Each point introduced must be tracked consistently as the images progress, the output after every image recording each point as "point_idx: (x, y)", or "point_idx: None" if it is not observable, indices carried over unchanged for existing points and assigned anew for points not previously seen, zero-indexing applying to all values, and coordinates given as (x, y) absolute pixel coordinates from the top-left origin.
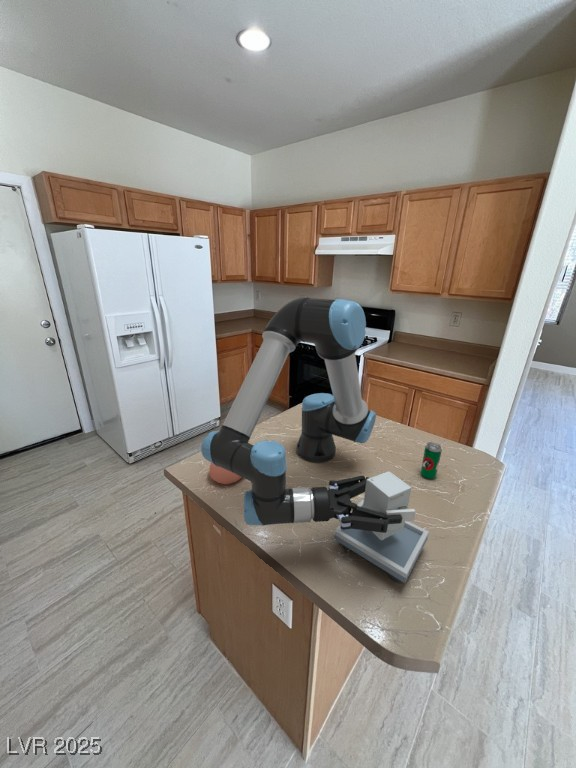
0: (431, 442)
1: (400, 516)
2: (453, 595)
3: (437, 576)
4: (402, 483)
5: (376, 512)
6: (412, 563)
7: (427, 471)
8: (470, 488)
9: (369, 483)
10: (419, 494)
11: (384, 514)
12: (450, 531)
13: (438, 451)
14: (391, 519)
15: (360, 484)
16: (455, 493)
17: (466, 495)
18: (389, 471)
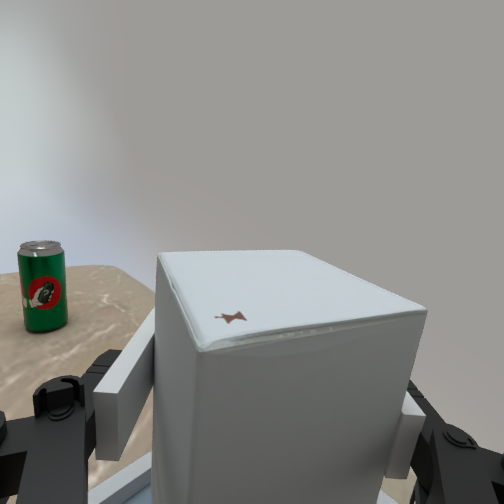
0: (27, 242)
1: None
2: None
3: None
4: (276, 253)
5: (460, 492)
6: (380, 491)
7: (51, 311)
8: (129, 299)
9: (251, 358)
10: (80, 363)
11: (456, 437)
12: None
13: (61, 251)
14: (442, 422)
15: (52, 496)
16: (125, 317)
17: (139, 309)
18: (163, 252)
